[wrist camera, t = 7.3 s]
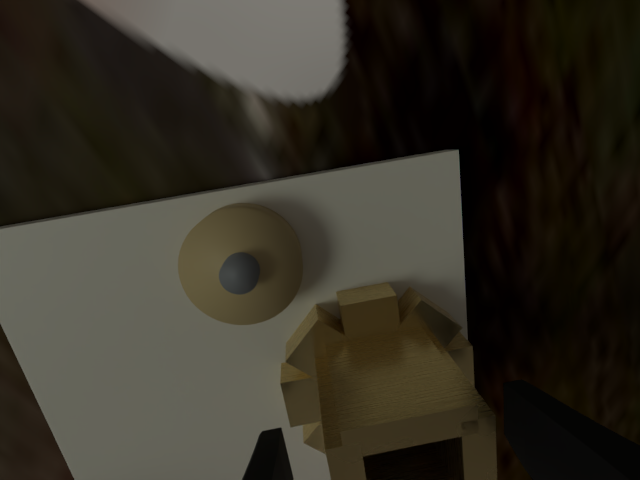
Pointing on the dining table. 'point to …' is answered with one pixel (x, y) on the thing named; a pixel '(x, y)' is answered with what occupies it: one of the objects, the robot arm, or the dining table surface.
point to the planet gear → (388, 390)
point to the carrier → (212, 308)
